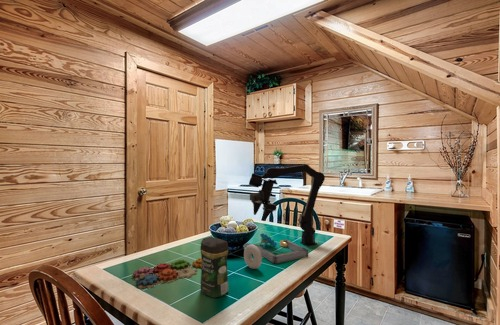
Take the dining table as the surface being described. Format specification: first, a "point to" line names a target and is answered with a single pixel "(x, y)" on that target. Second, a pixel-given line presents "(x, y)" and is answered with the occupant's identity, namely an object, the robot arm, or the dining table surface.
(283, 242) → the gold rounded dome
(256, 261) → the donut
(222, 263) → the coffee jar
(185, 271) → the gear puzzle
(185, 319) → the dining table surface
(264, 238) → the gear
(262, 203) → the robot arm
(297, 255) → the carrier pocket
